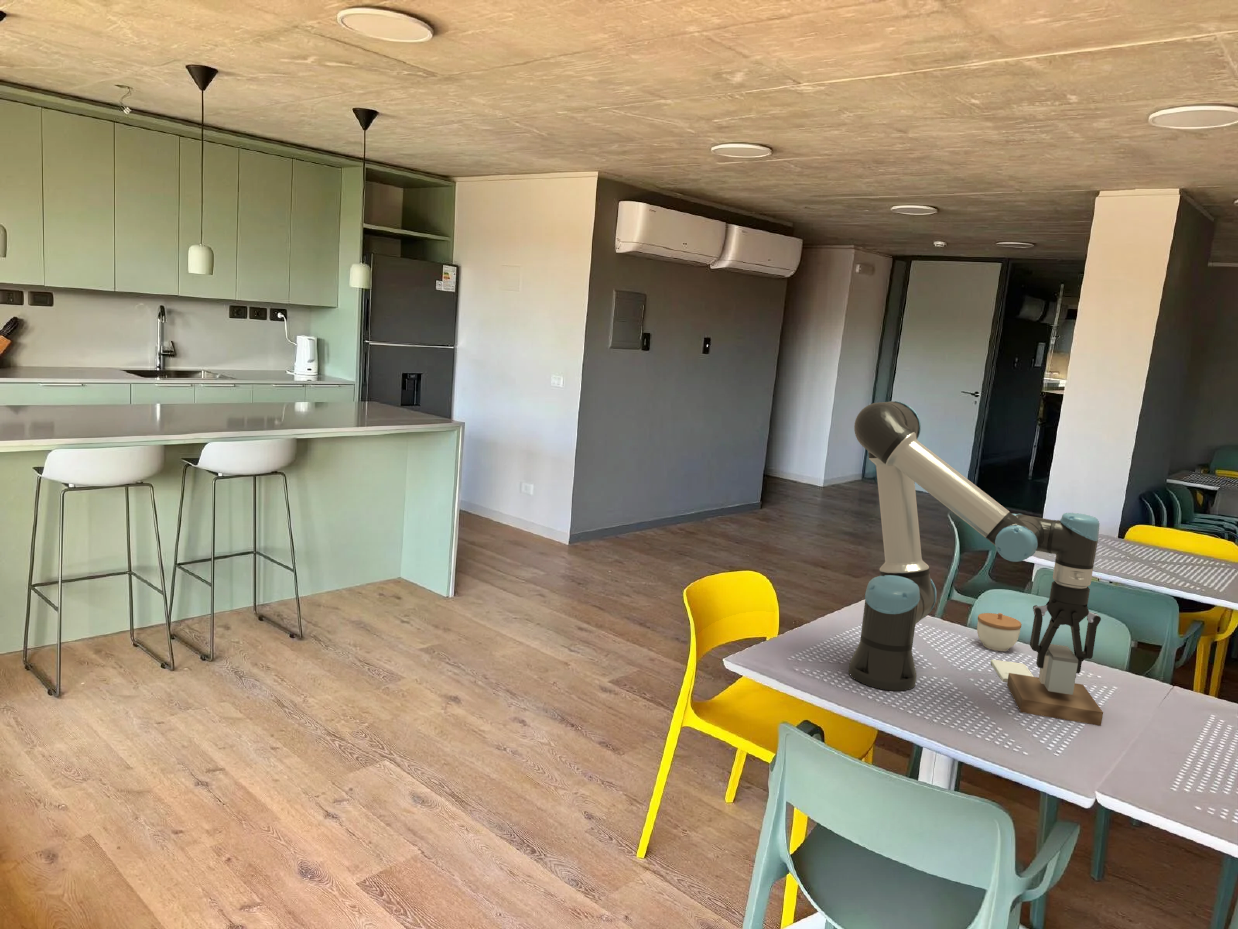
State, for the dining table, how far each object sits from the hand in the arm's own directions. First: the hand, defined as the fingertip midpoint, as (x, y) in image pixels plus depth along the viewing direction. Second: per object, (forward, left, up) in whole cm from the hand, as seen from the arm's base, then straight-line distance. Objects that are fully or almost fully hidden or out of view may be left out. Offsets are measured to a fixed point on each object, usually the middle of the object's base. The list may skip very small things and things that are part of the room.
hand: (1055, 683), depth 192 cm
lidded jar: (-6, +36, -5) cm, 37 cm away
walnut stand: (0, 0, -5) cm, 5 cm away
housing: (0, 0, 0) cm, 0 cm away
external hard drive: (-5, +16, -6) cm, 18 cm away
